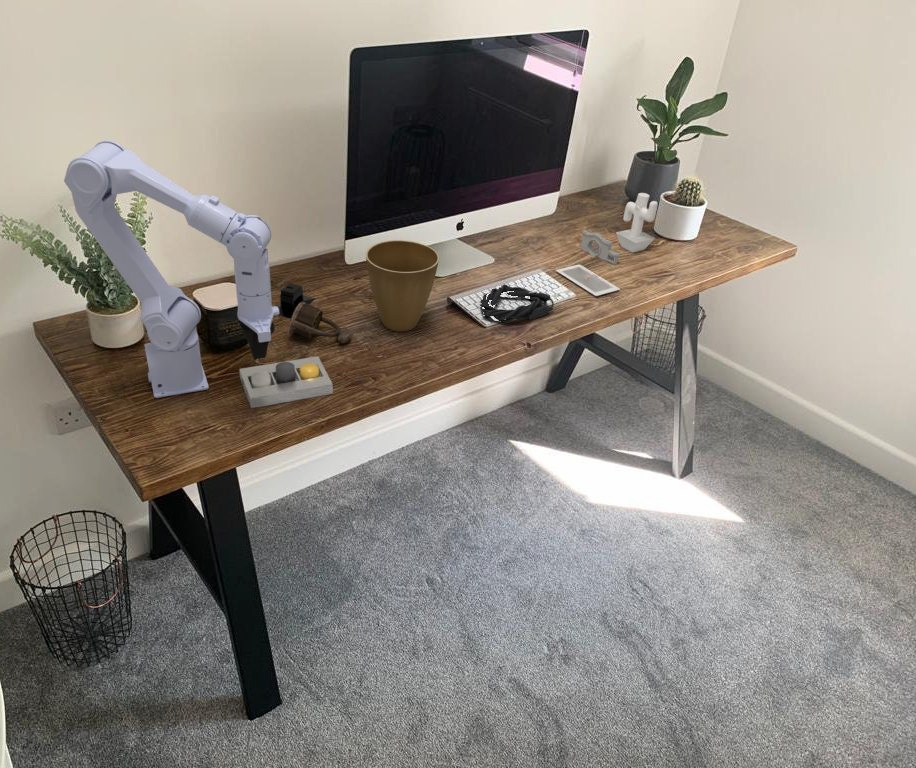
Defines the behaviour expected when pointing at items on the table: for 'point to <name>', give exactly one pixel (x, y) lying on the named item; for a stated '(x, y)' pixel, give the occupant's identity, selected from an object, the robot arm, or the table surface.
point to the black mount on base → (291, 299)
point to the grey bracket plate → (603, 247)
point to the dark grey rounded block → (285, 372)
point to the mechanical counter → (314, 323)
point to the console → (285, 384)
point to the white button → (260, 379)
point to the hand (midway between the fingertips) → (259, 356)
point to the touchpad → (588, 280)
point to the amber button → (309, 371)
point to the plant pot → (401, 281)
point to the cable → (520, 312)
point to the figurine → (637, 224)
